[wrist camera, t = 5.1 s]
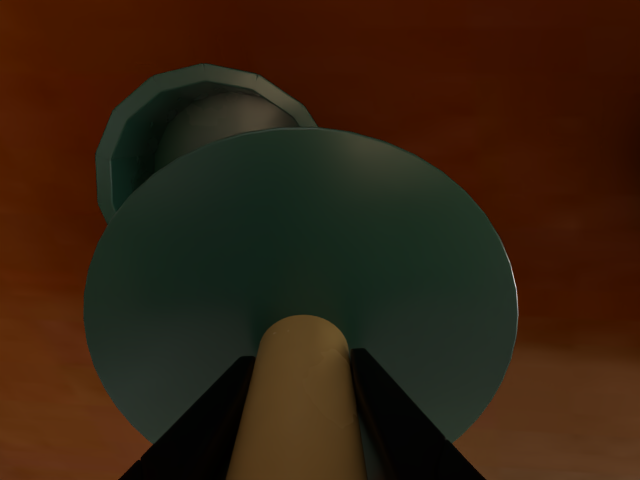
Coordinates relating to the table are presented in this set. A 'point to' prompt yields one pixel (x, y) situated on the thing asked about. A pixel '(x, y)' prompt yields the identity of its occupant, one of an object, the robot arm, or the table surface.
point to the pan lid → (299, 294)
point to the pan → (184, 123)
